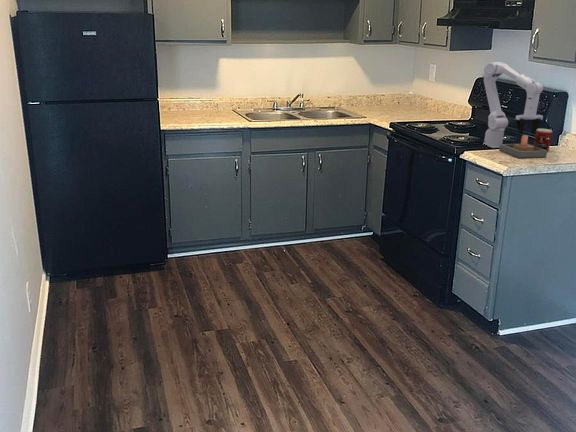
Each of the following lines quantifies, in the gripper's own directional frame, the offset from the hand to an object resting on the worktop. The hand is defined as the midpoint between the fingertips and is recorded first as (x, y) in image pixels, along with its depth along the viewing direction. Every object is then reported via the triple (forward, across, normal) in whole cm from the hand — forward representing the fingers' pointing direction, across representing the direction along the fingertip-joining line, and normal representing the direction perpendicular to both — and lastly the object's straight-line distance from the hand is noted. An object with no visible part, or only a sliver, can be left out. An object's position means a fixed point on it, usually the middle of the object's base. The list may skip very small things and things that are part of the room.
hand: (526, 133), depth 298 cm
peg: (+10, -2, -2) cm, 10 cm away
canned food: (+10, +14, +4) cm, 18 cm away
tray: (+10, -2, -2) cm, 11 cm away
